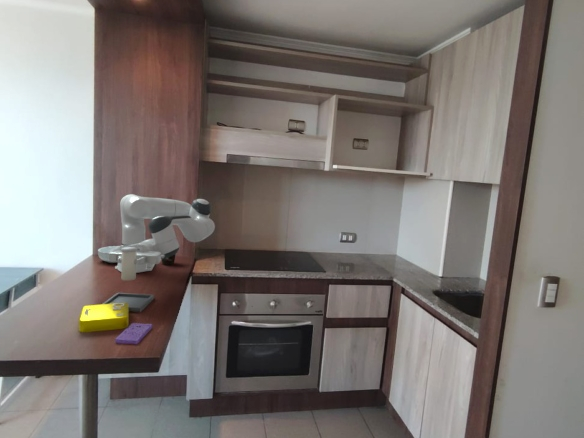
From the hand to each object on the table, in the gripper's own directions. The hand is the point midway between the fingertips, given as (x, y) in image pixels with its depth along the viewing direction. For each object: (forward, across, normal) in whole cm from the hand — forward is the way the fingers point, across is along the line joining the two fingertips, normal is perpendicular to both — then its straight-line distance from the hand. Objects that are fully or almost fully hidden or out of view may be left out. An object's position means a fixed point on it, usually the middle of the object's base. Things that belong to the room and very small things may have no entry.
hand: (127, 261), depth 144 cm
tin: (-1, 0, -7) cm, 7 cm away
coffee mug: (-65, +5, -18) cm, 68 cm away
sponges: (+25, -13, -18) cm, 34 cm away
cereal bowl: (-63, +33, -18) cm, 73 cm away
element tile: (+16, +1, -18) cm, 24 cm away
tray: (-1, 0, -18) cm, 18 cm away
